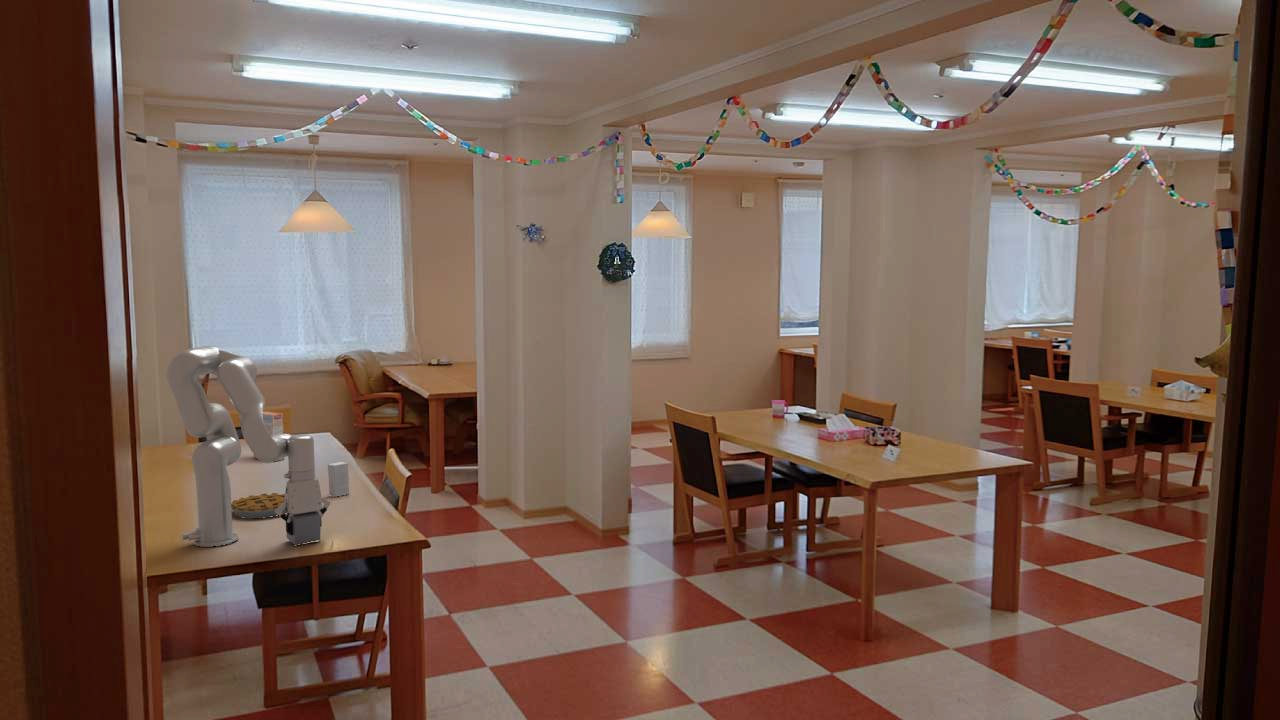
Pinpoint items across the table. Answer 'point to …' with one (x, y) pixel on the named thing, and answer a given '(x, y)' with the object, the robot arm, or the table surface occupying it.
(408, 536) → the table surface
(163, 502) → the table surface
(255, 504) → the pie
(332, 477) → the skincare box
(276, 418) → the cracker box
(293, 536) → the rounded grey cube
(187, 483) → the table surface
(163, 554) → the table surface
